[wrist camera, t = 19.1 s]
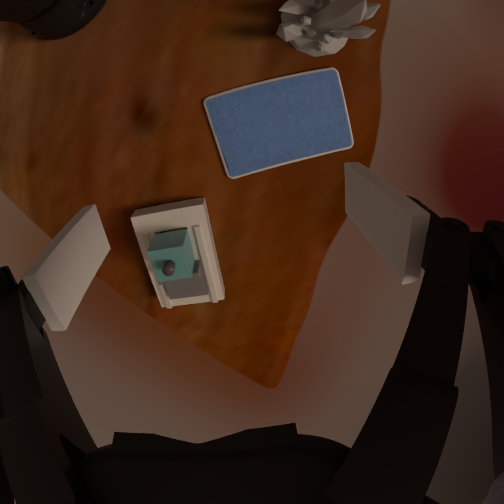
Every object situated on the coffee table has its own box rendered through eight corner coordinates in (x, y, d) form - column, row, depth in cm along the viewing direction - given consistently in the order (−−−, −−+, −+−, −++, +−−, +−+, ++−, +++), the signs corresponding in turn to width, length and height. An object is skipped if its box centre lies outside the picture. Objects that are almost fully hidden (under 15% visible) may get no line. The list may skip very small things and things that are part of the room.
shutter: (160, 265, 46) (156, 278, 43) (199, 259, 46) (198, 272, 43) (170, 295, 49) (167, 309, 47) (207, 290, 49) (207, 304, 47)
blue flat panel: (228, 179, 44) (228, 181, 43) (201, 98, 38) (200, 98, 37) (352, 146, 43) (355, 148, 41) (334, 66, 36) (337, 65, 35)
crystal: (253, 10, 31) (267, -26, 18) (338, -13, 29) (385, -45, 16) (284, 70, 36) (313, 62, 23) (366, 45, 34) (423, 35, 21)
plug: (158, 225, 46) (144, 257, 38) (189, 219, 46) (181, 251, 38) (166, 253, 48) (155, 288, 40) (196, 248, 48) (190, 284, 40)
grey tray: (135, 209, 45) (129, 219, 42) (204, 196, 45) (202, 205, 42) (164, 296, 53) (161, 309, 50) (224, 288, 53) (224, 301, 50)
